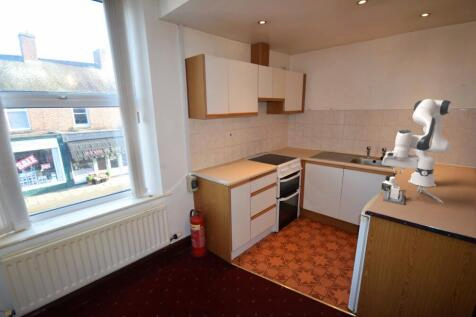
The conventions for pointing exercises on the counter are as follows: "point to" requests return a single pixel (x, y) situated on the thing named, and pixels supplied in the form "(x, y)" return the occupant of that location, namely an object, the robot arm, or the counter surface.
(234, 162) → the counter surface
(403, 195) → the rail base
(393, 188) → the din module
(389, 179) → the medicine bottle
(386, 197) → the din rail
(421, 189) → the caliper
